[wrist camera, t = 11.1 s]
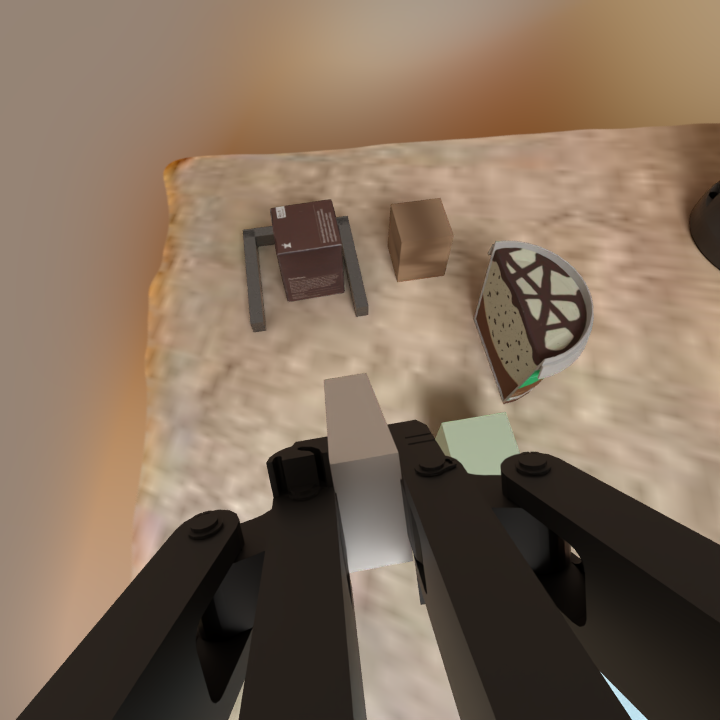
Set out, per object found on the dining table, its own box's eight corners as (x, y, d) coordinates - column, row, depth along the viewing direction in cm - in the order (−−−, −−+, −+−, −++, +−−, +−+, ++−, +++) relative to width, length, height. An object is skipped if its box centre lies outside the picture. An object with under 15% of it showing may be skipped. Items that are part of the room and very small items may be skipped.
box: (345, 294, 49) (343, 245, 42) (287, 303, 48) (275, 255, 42) (336, 250, 52) (332, 197, 45) (280, 258, 51) (269, 206, 45)
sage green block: (487, 438, 41) (505, 412, 36) (505, 495, 39) (528, 476, 34) (431, 448, 41) (441, 422, 36) (446, 506, 38) (459, 488, 33)
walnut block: (432, 240, 52) (440, 198, 47) (444, 275, 50) (453, 235, 45) (387, 246, 52) (390, 204, 47) (397, 282, 49) (401, 242, 44)
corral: (347, 225, 53) (347, 216, 52) (368, 314, 47) (368, 306, 46) (245, 239, 52) (242, 229, 51) (253, 332, 46) (250, 323, 45)
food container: (574, 408, 43) (629, 353, 34) (508, 419, 42) (547, 366, 33) (527, 297, 48) (564, 226, 40) (469, 306, 48) (493, 236, 39)
